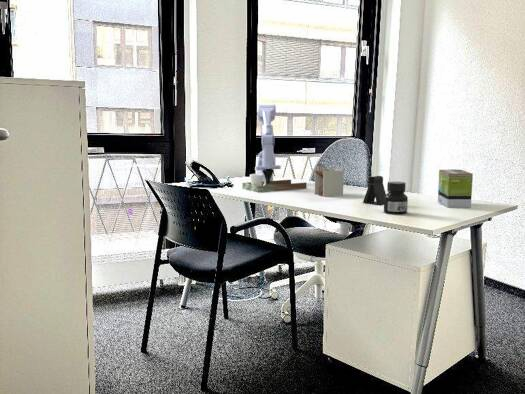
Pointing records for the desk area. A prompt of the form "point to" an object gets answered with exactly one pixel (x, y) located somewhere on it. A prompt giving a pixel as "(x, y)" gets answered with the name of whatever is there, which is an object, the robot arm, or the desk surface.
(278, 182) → the trap box
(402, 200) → the ink bottle
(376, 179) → the black binoculars
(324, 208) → the desk surface
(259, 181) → the cup
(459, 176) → the tea box
